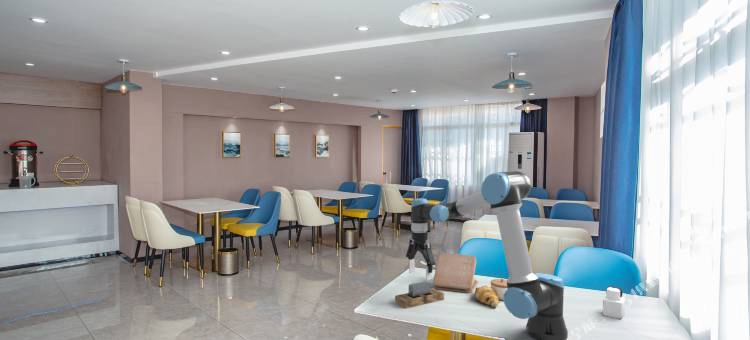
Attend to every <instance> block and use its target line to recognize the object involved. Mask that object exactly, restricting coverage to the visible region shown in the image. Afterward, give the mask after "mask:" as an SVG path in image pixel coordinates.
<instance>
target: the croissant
mask: <svg viewBox="0 0 750 340" xmlns="http://www.w3.org/2000/svg"><path fill="white" fill-rule="evenodd" d="M474 290H475V291H474V297H475V298H476V300H478V302H480V303H482V304H485V305H488V306H491V307H496V308H497V306H499V299H498V296H497V294H496V292H495V290H494V289H492V288H491V286H488V285H483V286H480V287H475V289H474Z"/></svg>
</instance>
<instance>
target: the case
mask: <svg viewBox="0 0 750 340" xmlns="http://www.w3.org/2000/svg"><path fill="white" fill-rule="evenodd" d="M476 265H477V258H476V256H475V255H471V254H470V255H468V254H460V253H450V252H449V253H447V252H442V253H439V255H438V258H437V261H436V267H435V270H434V271H435V272H434V275H433V279H432V282H433V283H432V284H433V288H434V289H436V290H438V291H440V290H442V291H448V292H449V291H450V292H456V293H457V292H458V293H466V294H471V293H473V292H474V290H476V288H477V285H478V283H479V282H478V280H477V279H475V273H476Z"/></svg>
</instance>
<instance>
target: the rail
mask: <svg viewBox="0 0 750 340" xmlns="http://www.w3.org/2000/svg"><path fill="white" fill-rule="evenodd" d="M444 300H445V293H444V292H442V291H440V290H439V289H435V288H434V287H430V294H429V295H427V296H425V295H421V296H417V298H411V297H410V295H409V292H405V293H402V294H396V295H394V302H395V303H396V304H398V306H401V307H402V308H404V309H409V308H413V307H419V306H422V305H426V304H431V303H435V302H440V301H444Z"/></svg>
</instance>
